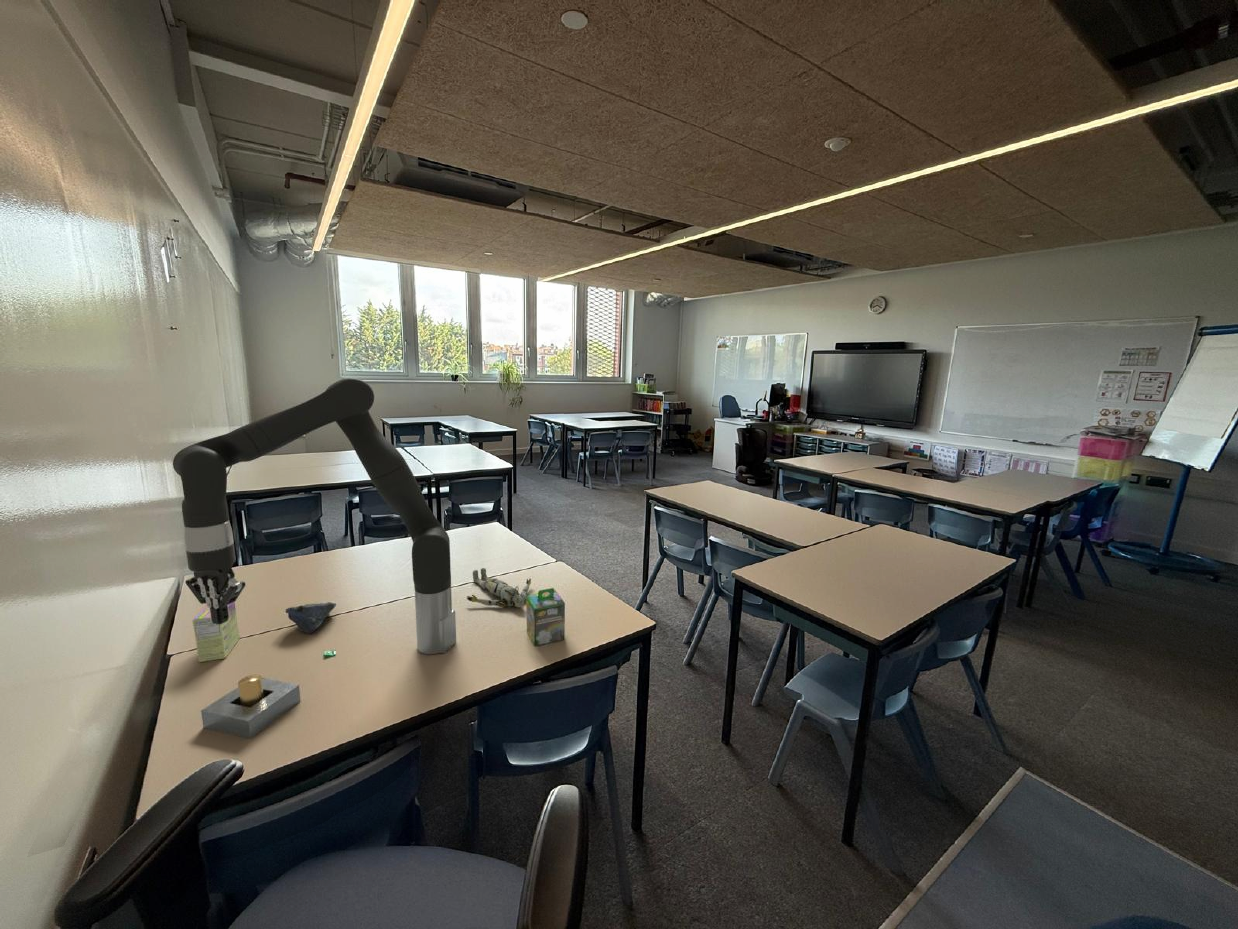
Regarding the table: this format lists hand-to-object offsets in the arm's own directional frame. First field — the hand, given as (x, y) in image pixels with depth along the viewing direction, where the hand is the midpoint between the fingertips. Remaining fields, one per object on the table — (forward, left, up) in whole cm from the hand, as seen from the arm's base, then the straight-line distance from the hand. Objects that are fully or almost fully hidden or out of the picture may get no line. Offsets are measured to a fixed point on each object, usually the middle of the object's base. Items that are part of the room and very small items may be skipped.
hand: (220, 622), depth 102 cm
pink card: (-3, -24, -22) cm, 32 cm away
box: (+25, -18, -21) cm, 37 cm away
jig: (-5, 0, -21) cm, 22 cm away
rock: (+14, -35, -21) cm, 44 cm away
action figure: (-30, -68, -22) cm, 77 cm away
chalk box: (-54, -47, -21) cm, 75 cm away
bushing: (-5, -1, -21) cm, 22 cm away
